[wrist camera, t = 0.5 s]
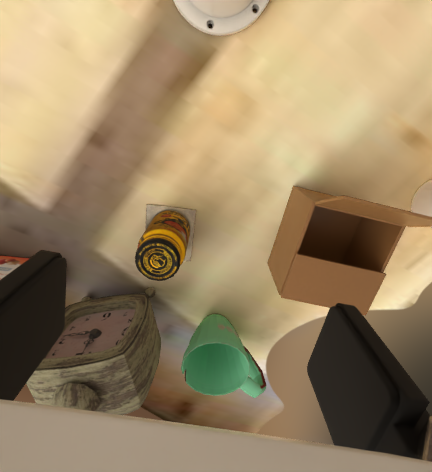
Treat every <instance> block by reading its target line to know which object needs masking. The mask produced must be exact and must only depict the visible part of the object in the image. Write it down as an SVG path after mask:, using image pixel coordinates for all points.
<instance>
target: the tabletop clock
mask: <svg viewBox="0 0 432 472" xmlns="http://www.w3.org/2000/svg"><path fill="white" fill-rule="evenodd" d="M154 295H155V290H154V289H153V288H152V287H149V288H147V289H146V291H145V294H141V293H136V294H125V295H115V296H108V297H102V298H97V299H91V298H90V297H84V298H83V299H82V301H81V302H78V303H75V304H72V305H69V306H67V307H66V308H65V325H64V329H63V332H62V334H61V336H60V337H59V338H58V340H57V341H56V342H55V344H54V345H53V347H52V348H51V349H50V351H49V352H48V354H47V355H46V356H45V358H44V359H43V360H42V362H41V363H40V365H39V366H38V367H37V369H36V370H35V371H34V373H33V374H32V376H31V377H30V378H29V380H28V381H27V382H26V384H27V386H28V388H29V390H30V392H31V394H32V396H33V398H34V400H35V402H36V404H42V405H50V406H58V407H65V408H73V409H80V410H87V411H95V412H102V413H110V414H117V415H124V414H127V413H130V412H133V411H135V410H137V409H139V408H140V406H141V405H142V403H143V402H144V400H145V398H146V396H147V394H148V391H149V389H150V386H151V384H152V381H153V378H154V375H155V372H156V369H157V366H158V363H159V357H160V349H161V338H160V335H159V331H158V328H157V324H156V321H155V317H154V313H153V310H152V306H151V303H150V299H149V298H151V297H153V296H154Z"/></svg>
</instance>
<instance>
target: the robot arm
mask: <svg viewBox="0 0 432 472" xmlns="http://www.w3.org/2000/svg"><path fill="white" fill-rule="evenodd" d="M173 1H174V3H175V5H176V7H177V9H178V10H179V12H180V13H181V14H182V16H183V17H184V18H185V19H186V20H187V21H188V22H189V23H190V24H191V25H192V26H193V27H195V28H197V29H198V30H200V31H202V32H204V33H207V34H210V35H217V36H225V35H232V34H235V33H238V32H241V31H242V30H244V29H246V28H247V27H249V26H250V25H251V24H252V23H253V22H255V21H256V20H257V19H258V18H259V16H260V15H261V14H262V12H263V11H264V10H265V8H266V6H267V4H268V2H269V0H173ZM253 9H256V10H257V12H256V13H254V12H253ZM210 24H211V25H212V26H213V27H212V28H209V27H208V26H209V25H210ZM65 296H66V259H65V258H62V256H61V254H60V253H55V252H50V251H44V250H41V251H39V252H38V253H36V254H35V255H34V256H32V257H31V258H30V259H28V260H27V261H25V262H24V263H23V264H21V265H20V266H19V267H17V268H16V269H14V270H13V271H12V272H10V273H9V274H8V275H6V276H5V277H3V278H2V279H1V280H0V472H432V415H429V413H428V412H427V411H426V407H427V406H428V404H429V401H428V400H427V399H426V397H425V396H424V395H423V393H422V392H421V391H420V389H419V388H418V387H417V386H416V384H415V383H414V381H413V380H412V379H411V378H410V376H409V375H408V374H407V372H406V371H405V370H404V368H403V367H402V366H401V365H400V363H399V362H398V361H397V359H396V358H395V357H394V355H393V354H392V353H391V352H390V350H389V349H388V348H387V346H386V345H385V344H384V342H383V341H382V340H381V339H380V337H379V336H378V335H377V334H376V332H375V331H374V329H373V328H372V327H371V326H370V324H369V323H368V322H367V320H366V319H365V318H364V316H363V315H362V314H361V313H360V311H359V310H358V309H357V307H355V306H353V305H347V304H342V303H337V304H336V305H335V306H332V307H331V308H330V310H329V312H328V314H327V317H326V319H325V323H324V325H323V327H322V330H321V332H320V335H319V337H318V340H317V342H316V345H315V347H314V350H313V352H312V355H311V357H310V360H309V362H308V366H307V371H308V376H309V378H310V381H311V384H312V386H313V389H314V392H315V394H316V397H317V400H318V402H319V405H320V408H321V410H322V413H323V416H324V419H325V421H326V423H327V426H328V429H329V432H330V435H331V437H332V440H333V443H334V445H328V444H322V443H315V442H308V441H301V440H294V439H288V438H281V437H274V436H267V435H261V434H254V433H247V432H240V431H232V430H225V429H218V428H211V427H204V426H197V425H190V424H183V423H176V422H168V421H161V420H153V419H147V418H139V417H132V416H124V415H117V414H110V413H102V412H95V411H87V410H80V409H73V408H65V407H58V406H50V405H42V404H34V403H26V402H18V401H13V400H14V399H15V397H16V396H17V395H18V393H19V392H20V391H21V389H22V388H23V387H24V385H25V384H26V382H27V381H28V380H29V378H30V377H31V376H32V374H33V373H34V371H35V370H36V369H37V367H38V366H39V365H40V363H41V362H42V360H43V359H44V358H45V356H46V355H47V354H48V352H49V351H50V349H51V348H52V347H53V345H54V344H55V342H56V341H57V340H58V338H59V337H60V336H61V334H62V332H63V329H64V325H65Z"/></svg>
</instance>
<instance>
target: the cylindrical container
mask: <svg viewBox="0 0 432 472" xmlns="http://www.w3.org/2000/svg"><path fill="white" fill-rule="evenodd" d="M411 210H412V212H414V213H418V214H422V215H426V216H430V217H432V179H431V180H429V181H427V182H426V183H424V184H423V185H422V186H421V187H420V188H419V189H418V190H417V191H416V193H415V195H414V197H413V199H412V203H411ZM431 228H432V227H431Z"/></svg>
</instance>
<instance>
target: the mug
mask: <svg viewBox="0 0 432 472" xmlns="http://www.w3.org/2000/svg"><path fill="white" fill-rule="evenodd" d="M181 370H182V374H184V371H185V381H186V383H187V384H188V385H189V386H190V387H191V388H193V389H194V390H196V391H198V392H200V393H203V394H207V395H213V396H215V395H225V394H228V393H231V392H234V391H235V390H237V389H238V388H241V389H242V390H243V391H244V392H245V393H247V394H248V395H250V396H252V397H253V398H255V397H257V396H259V395H260V394H261V393H263V392H264V391H265V389H266V382H265V379H264V376H263V372H262V370H261V369H260V367H259V366H258V364H257V363H256V361H255V360H254V358H253V357H252V355H251V354H250V352H249V351H248V350H247V349H246V348H245V347H244V346H243V344H242V342H241V340H240V338H239V336H238V334H237V332H236V331H235V329H234V327H233V326H232V325H231V323H230V322H229V321H228V320H227V319H226V318H225V317H224V316H222V315H219V314H211V315H209V316H207V317H206V318H204V320H203V321H202V322H201V323H200V325H199V326H198V328H197V329H196V331H195V332H194V334H193V336H192V338H191V340H190V343H189V346H188V348H187V350H186V352H185V354H184V357H183V361H182V366H181ZM249 376H250V377H249Z"/></svg>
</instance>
